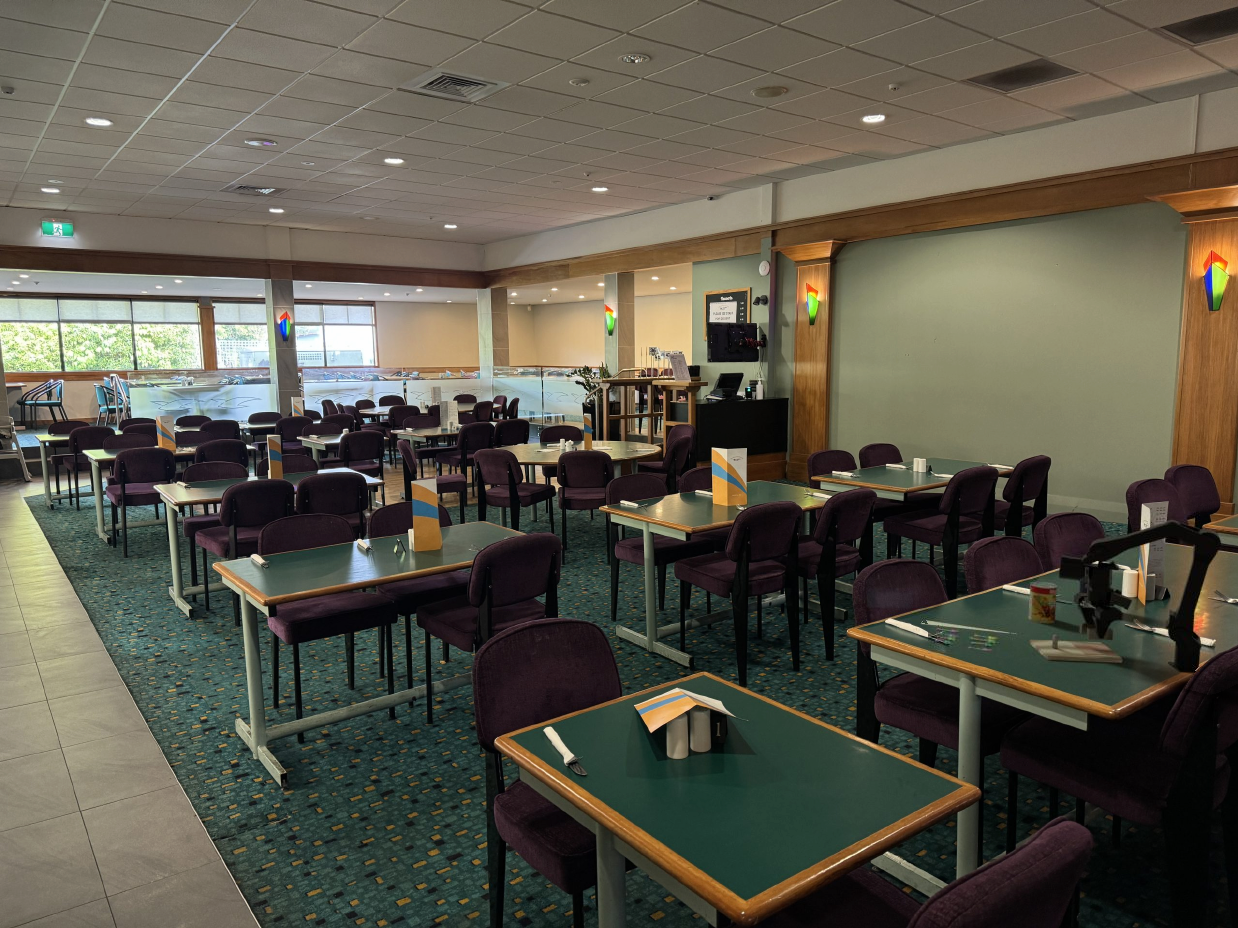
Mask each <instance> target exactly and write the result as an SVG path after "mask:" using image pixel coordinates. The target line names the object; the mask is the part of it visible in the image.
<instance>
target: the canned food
mask: <svg viewBox="0 0 1238 928" xmlns="http://www.w3.org/2000/svg"><path fill="white" fill-rule="evenodd" d="M1029 587H1030V588H1029V603H1028V605H1029V606H1028V620H1030V621H1031V622H1035V623H1041V624H1053V623H1056V612H1057V611H1056V609H1057V607H1056V606H1057V593H1058V592H1057V589H1058V586H1057V585H1056V584H1055V583H1053V582H1047V581H1032V582H1030V584H1029Z"/></svg>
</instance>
